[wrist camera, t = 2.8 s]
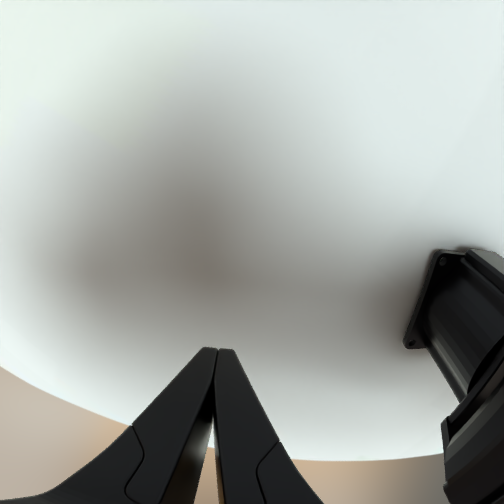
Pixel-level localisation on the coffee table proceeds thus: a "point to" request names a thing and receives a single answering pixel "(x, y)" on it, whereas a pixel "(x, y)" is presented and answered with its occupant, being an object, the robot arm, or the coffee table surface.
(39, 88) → the coffee table surface
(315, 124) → the coffee table surface
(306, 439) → the coffee table surface
